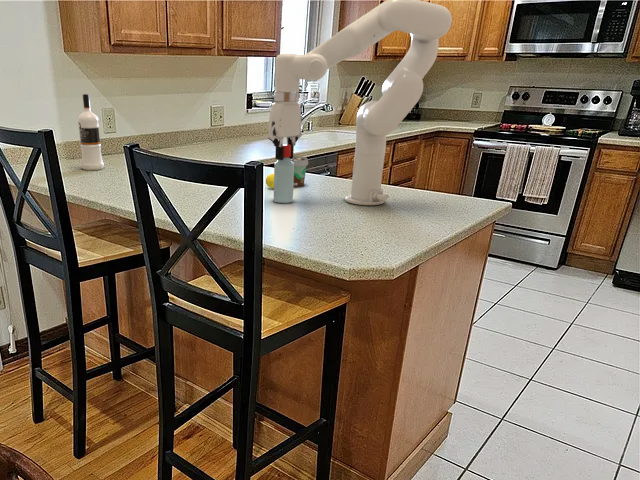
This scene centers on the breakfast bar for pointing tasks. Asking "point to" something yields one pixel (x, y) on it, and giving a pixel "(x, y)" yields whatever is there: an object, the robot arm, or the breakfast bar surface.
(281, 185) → the bottle
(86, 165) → the vodka
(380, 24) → the robot arm
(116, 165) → the breakfast bar surface
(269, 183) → the lemon
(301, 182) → the food container
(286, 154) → the cap
